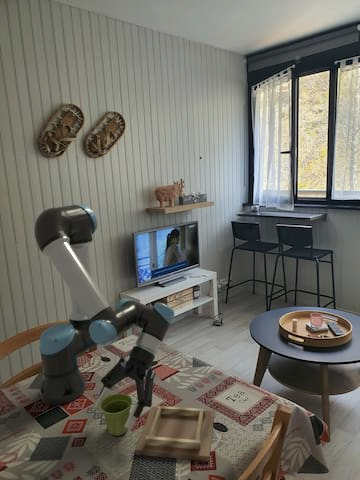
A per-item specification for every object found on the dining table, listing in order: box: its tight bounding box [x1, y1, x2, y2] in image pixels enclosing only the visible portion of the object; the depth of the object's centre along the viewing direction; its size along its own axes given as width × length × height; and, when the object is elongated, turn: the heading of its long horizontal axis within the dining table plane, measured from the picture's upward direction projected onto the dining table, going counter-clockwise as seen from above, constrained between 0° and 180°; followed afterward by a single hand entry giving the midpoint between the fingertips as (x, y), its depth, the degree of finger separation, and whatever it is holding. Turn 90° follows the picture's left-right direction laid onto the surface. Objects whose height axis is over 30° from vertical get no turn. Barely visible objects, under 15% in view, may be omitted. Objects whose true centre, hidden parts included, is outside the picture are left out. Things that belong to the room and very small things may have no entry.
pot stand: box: [134, 405, 215, 462], centre depth 103 cm, size 20×18×4 cm
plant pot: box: [100, 393, 133, 437], centre depth 106 cm, size 9×9×9 cm
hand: (112, 418), depth 104 cm, fingers open, 13 cm apart
